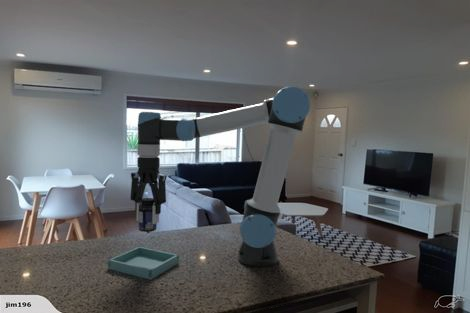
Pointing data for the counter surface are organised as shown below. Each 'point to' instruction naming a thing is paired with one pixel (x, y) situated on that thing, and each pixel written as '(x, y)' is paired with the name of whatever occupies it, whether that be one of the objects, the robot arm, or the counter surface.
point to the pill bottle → (146, 215)
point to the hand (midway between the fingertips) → (147, 221)
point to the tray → (143, 262)
